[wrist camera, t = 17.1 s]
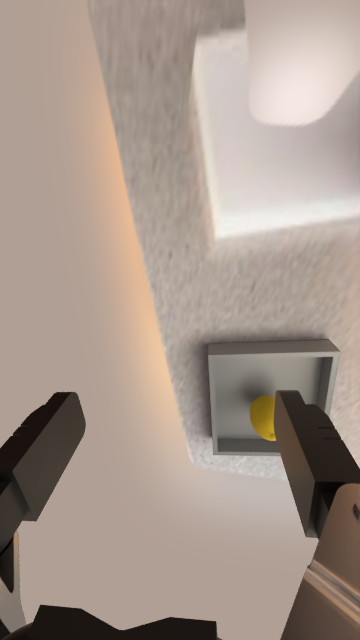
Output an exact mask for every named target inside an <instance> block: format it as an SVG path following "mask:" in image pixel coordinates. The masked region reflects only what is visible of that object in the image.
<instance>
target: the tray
mask: <svg viewBox="0 0 360 640" xmlns="http://www.w3.org/2000/svg"><path fill="white" fill-rule="evenodd" d="M339 357H340V350H339V349H338V348H337V347H336V346H335V345H334V344H333V343H332V342H331V341H330V340H329V339H327V340H297V341H268V342H238V343H209V344H208V365H209V384H210V402H211V421H212V440H213V455H245V456H281V454H280V451H279V448H278V444H277V441H269V440H266V439H263V438H262V437H260V436H259V435H258V434H257V432H256V431H255V430H254V428H253V426H252V424H251V421H250V414H249V411H250V406H251V404H252V402H253V401H254V400H255V399H256V398H258V397H260V396H264V395H268V396H272V397H274V398H275V393H276V390H298V391H299V392H300V394H301V396H302V398H303V400H304V402H305V404H315V405H317V406H318V407H319V408H320V409H321V410H322V411H324V412H325V413H326V414H327V415H328V417H329V416H330V410H331V404H332V398H333V392H334V386H335V380H336V375H337V369H338V363H339Z"/></svg>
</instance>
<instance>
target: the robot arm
mask: <svg viewBox="0 0 360 640" xmlns="http://www.w3.org/2000/svg"><path fill="white" fill-rule="evenodd" d="M85 425H86V423H85V418H84V415H83V411H82V408H81V405H80V401H79V397H78V395H77V393H75V392H57V393H55V394H54V395H53V396H52V397H51V398H50V399H49V400H48V402H47V403H46V404H45V405H42V406H41V407H39V408H38V409H37V410H35V411H34V412H32V413H31V414H30V415H29V416H28V417H27V418H26V419H25V420H24V422H23V423H22V424H21V427H18V429H17V430H16V431H15V432H14V433H13V436H11V437H10V438H9V439H8V440H7V441H6V442H5V444H4V445H3V446H2V447H1V448H0V640H222V639H220V638H218V637H217V625H216V621H206V620H194V619H184V618H174V617H169V618H165V619H162V620H159V621H155V622H152V623H148V624H145V625H141V626H138V627H134V628H131V629H127V630H118V629H116V628H114V627H112V626H111V625H109V624H107V623H105V622H104V621H101V620H100V619H98V618H96V617H95V616H93V615H91V614H89V613H88V612H86V611H84V610H82V609H78V608H69V607H58V606H47V605H40V607H39V609H38V612H37V614H36V616H35V619H34V621H33V622H32V623H30V624H28V625H26V622H25V617H24V613H23V610H22V606H21V600H20V571H19V535H18V532H17V528H18V527H19V525H20V523H21V522H22V520H23V521H37V519H38V517H39V516H40V514H41V512H42V510H43V508H44V506H45V505H46V503H47V501H48V499H49V497H50V495H51V494H52V492H53V490H54V488H55V486H56V484H57V483H58V481H59V479H60V477H61V475H62V474H63V472H64V470H65V468H66V466H67V464H68V463H69V461H70V459H71V457H72V455H73V454H74V452H75V450H76V448H77V446H78V445H79V443H80V441H81V439H82V437H83V435H84V432H85ZM274 433H275V438H276V441H277V444H278V448H279V451H280V454H281V458H282V461H283V464H284V467H285V471H286V474H287V477H288V480H289V483H290V487H291V490H292V493H293V497H294V500H295V503H296V506H297V510H298V513H299V516H300V519H301V523H302V526H303V529H304V533H305V536H306V537H312V538H318V539H319V542H318V545H317V547H316V551H315V553H314V556H313V559H312V561H311V564H310V565H309V566H308V567H307V569H306V571H305V573H304V576H303V579H302V581H301V584H300V587H299V589H298V592H297V595H296V598H295V600H294V603H293V606H292V609H291V611H290V614H289V617H288V620H287V622H286V625H285V628H284V631H283V634H282V636H281V639H280V640H360V469H359V467H358V465H357V464H356V462H355V460H354V459H353V457H352V455H351V454H350V452H349V450H348V448H347V447H346V445H345V443H344V442H343V440H341V437H340V435H339V433H338V432H337V430H335V427H334V425H333V423H332V422H331V420H330V418H329V417H328V415H327V414H326V413H325V412H324V411H322V410H321V409H320V408H319V407H318V406H317V405H315V404H305V402H304V400H303V398H302V396H301V394H300V392H299V391H298V390H276V393H275V407H274Z"/></svg>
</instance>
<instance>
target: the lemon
mask: <svg viewBox="0 0 360 640" xmlns="http://www.w3.org/2000/svg"><path fill="white" fill-rule="evenodd" d="M274 407H275V398H274V397H272V396H268V395H264V396H260V397H258V398H256V399H255V400H254V401H253V402H252V404H251V406H250V411H249V414H250V421H251V424H252V426H253V428H254V430H255V431H256V432H257V434H258V435H259V436H260V437H262V438H263V439H266V440H269V441H276V438H275V433H274Z"/></svg>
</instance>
